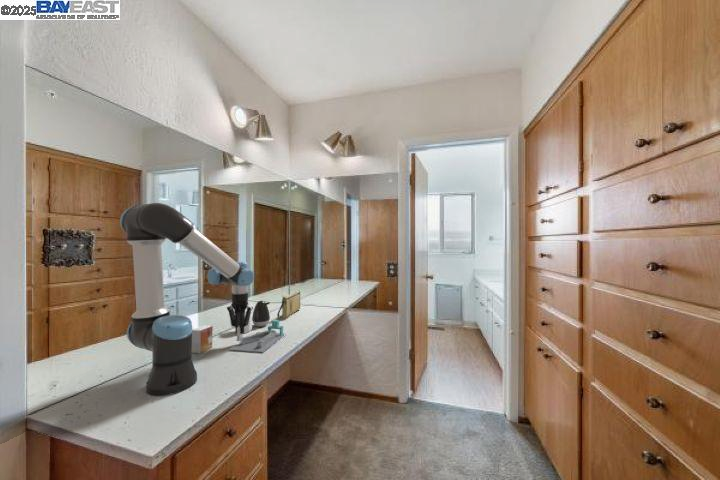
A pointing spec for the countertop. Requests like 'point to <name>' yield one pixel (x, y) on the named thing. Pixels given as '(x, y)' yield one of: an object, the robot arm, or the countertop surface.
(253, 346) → the mat
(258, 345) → the tongs base
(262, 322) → the pump dispenser
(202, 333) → the small box
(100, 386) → the countertop surface
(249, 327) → the mug
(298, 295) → the clutch purse
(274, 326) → the lock collar
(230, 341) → the countertop surface
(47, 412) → the countertop surface
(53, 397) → the countertop surface
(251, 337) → the swing arm
